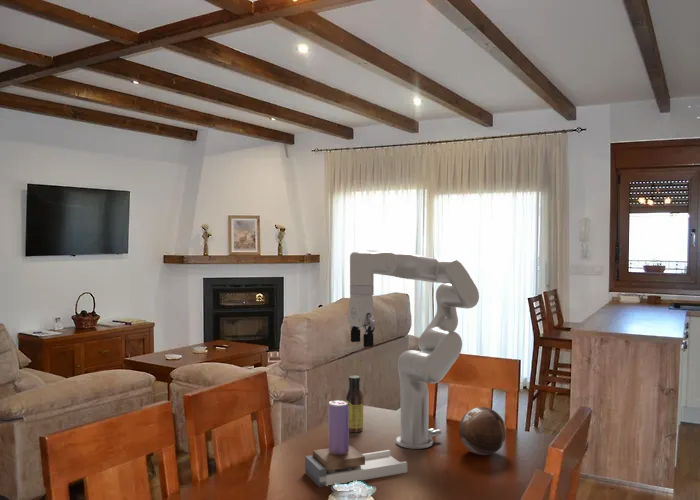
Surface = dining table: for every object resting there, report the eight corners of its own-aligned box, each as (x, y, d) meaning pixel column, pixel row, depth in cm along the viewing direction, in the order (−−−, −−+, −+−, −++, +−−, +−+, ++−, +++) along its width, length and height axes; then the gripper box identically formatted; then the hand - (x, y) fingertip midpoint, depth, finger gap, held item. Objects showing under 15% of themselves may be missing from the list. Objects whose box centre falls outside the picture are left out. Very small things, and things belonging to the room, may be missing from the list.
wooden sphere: (449, 452, 205) (449, 406, 204) (480, 443, 214) (480, 399, 214) (485, 465, 193) (485, 417, 193) (516, 455, 202) (516, 409, 202)
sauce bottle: (347, 427, 232) (347, 374, 231) (364, 428, 231) (364, 374, 230) (344, 433, 225) (344, 378, 225) (361, 433, 224) (361, 378, 224)
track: (388, 459, 199) (388, 443, 199) (407, 472, 188) (407, 455, 188) (305, 472, 187) (305, 456, 187) (319, 487, 176) (319, 470, 176)
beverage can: (347, 457, 182) (346, 405, 182) (326, 456, 183) (326, 405, 182) (350, 449, 188) (349, 400, 187) (330, 449, 189) (330, 399, 188)
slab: (349, 460, 193) (349, 444, 193) (365, 472, 183) (364, 456, 182) (313, 466, 188) (313, 450, 188) (326, 479, 178) (326, 462, 178)
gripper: (340, 288, 206) (340, 340, 206) (362, 293, 190) (362, 349, 190) (361, 288, 209) (361, 339, 209) (384, 292, 193) (384, 347, 193)
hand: (361, 344), depth 200 cm, fingers open, 9 cm apart
